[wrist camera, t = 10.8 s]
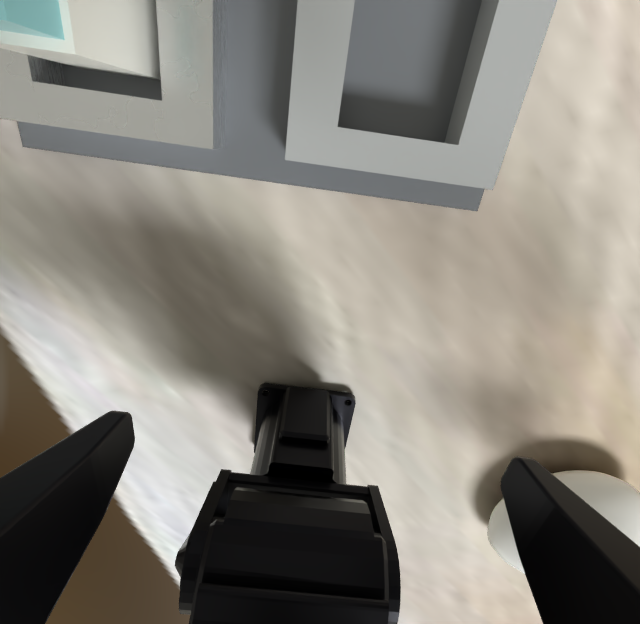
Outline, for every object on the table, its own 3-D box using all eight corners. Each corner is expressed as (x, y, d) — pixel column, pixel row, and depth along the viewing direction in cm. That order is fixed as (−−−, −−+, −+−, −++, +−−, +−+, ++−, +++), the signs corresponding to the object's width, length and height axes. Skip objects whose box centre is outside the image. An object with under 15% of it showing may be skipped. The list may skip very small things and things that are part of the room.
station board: (578, -126, 13) (593, -142, 12) (471, 208, 18) (477, 211, 18) (-47, -243, 12) (-71, -265, 11) (35, 146, 18) (23, 146, 17)
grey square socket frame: (563, -93, 13) (601, -128, 11) (475, 183, 17) (492, 189, 15) (314, -138, 12) (312, -182, 11) (289, 156, 17) (284, 159, 15)
